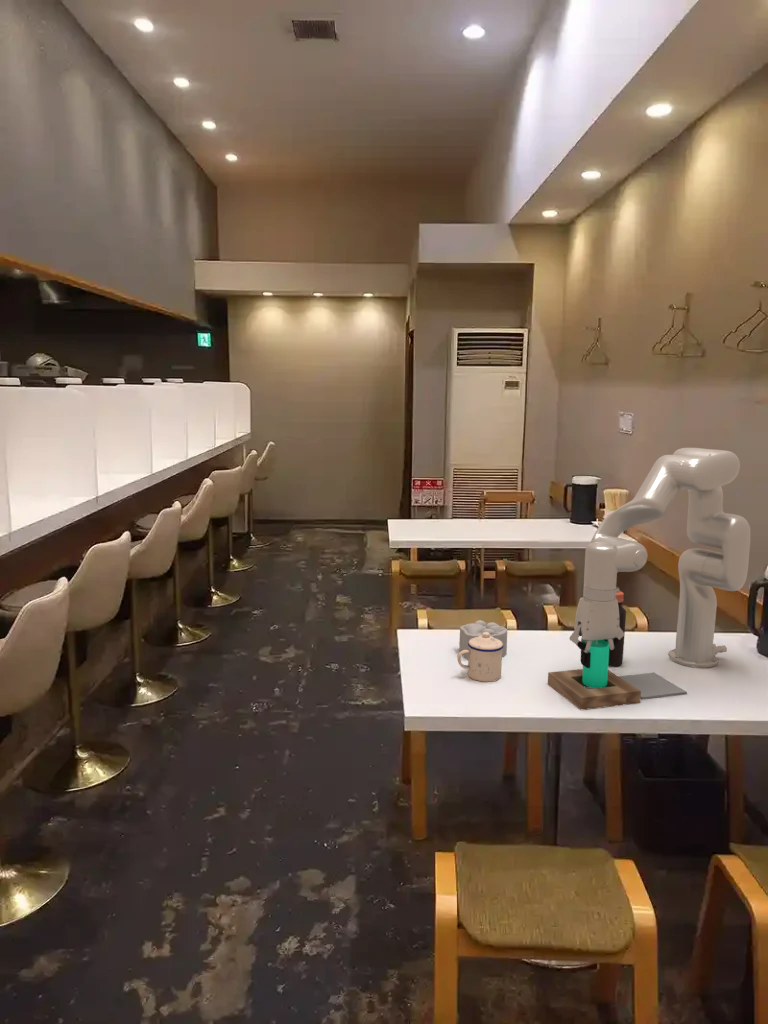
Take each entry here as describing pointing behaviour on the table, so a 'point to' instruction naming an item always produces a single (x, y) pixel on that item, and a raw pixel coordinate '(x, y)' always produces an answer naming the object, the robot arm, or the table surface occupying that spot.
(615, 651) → the bottle
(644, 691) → the mat
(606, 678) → the candle
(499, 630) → the lumpy-topped squat cylinder
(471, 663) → the teacup with lid
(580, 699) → the stand
